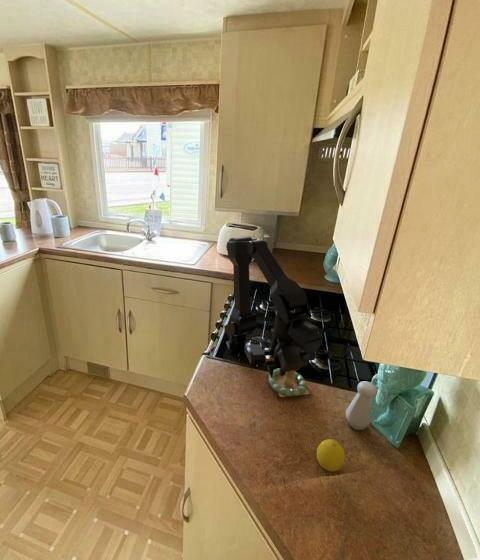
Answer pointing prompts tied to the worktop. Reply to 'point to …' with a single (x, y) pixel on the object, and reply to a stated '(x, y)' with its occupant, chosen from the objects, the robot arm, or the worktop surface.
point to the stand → (288, 382)
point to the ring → (286, 391)
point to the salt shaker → (361, 406)
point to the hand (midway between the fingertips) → (276, 375)
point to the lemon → (330, 455)
